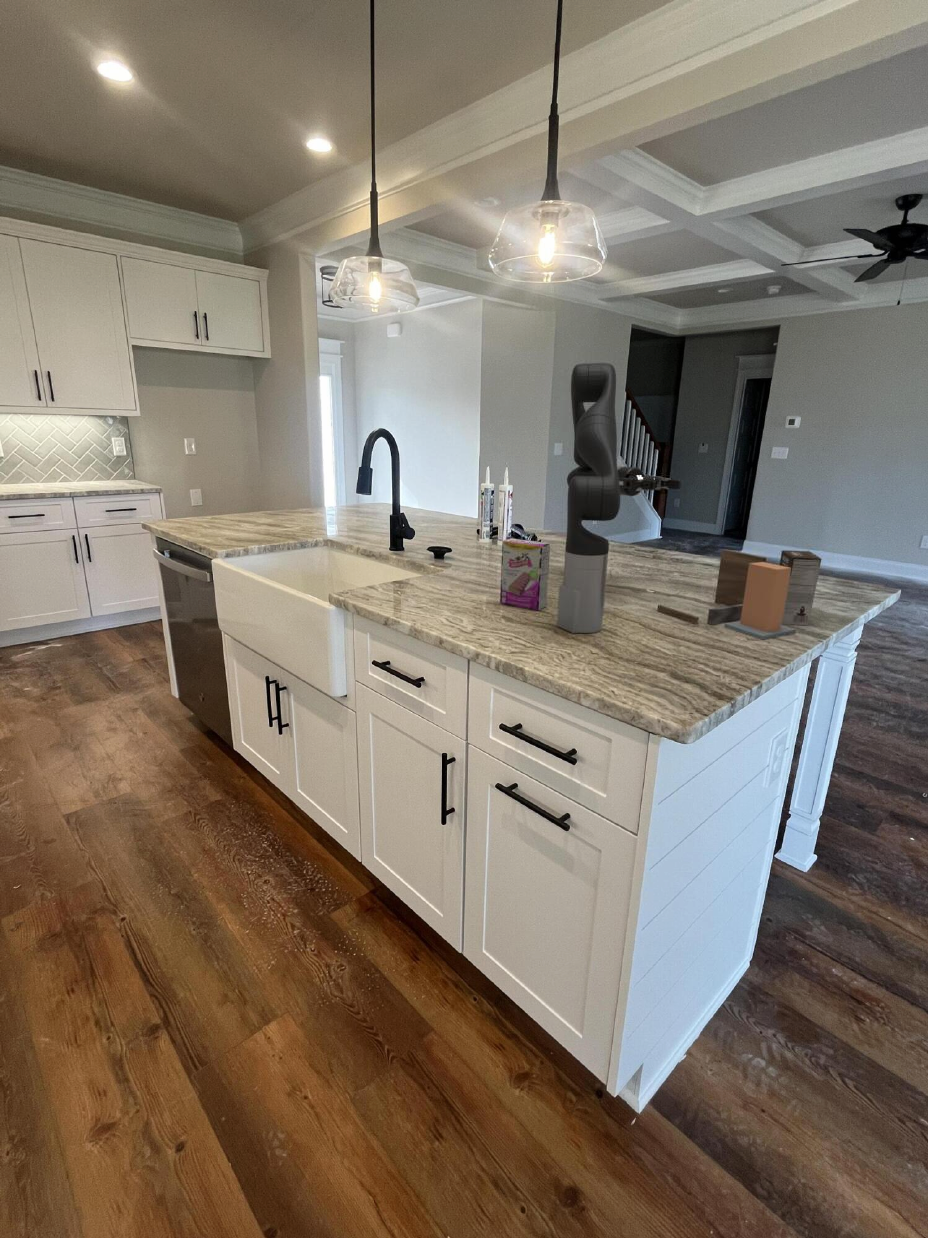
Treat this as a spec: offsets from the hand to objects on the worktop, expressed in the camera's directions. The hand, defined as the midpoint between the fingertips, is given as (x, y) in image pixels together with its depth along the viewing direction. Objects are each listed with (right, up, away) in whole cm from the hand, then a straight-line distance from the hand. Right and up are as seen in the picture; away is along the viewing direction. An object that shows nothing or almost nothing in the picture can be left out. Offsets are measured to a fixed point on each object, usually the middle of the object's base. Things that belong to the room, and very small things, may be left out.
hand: (667, 485), depth 151 cm
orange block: (+16, -35, -14) cm, 41 cm away
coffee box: (+28, -34, -5) cm, 44 cm away
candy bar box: (-36, -30, +3) cm, 47 cm away
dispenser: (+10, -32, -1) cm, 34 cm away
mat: (+16, -36, -14) cm, 42 cm away
